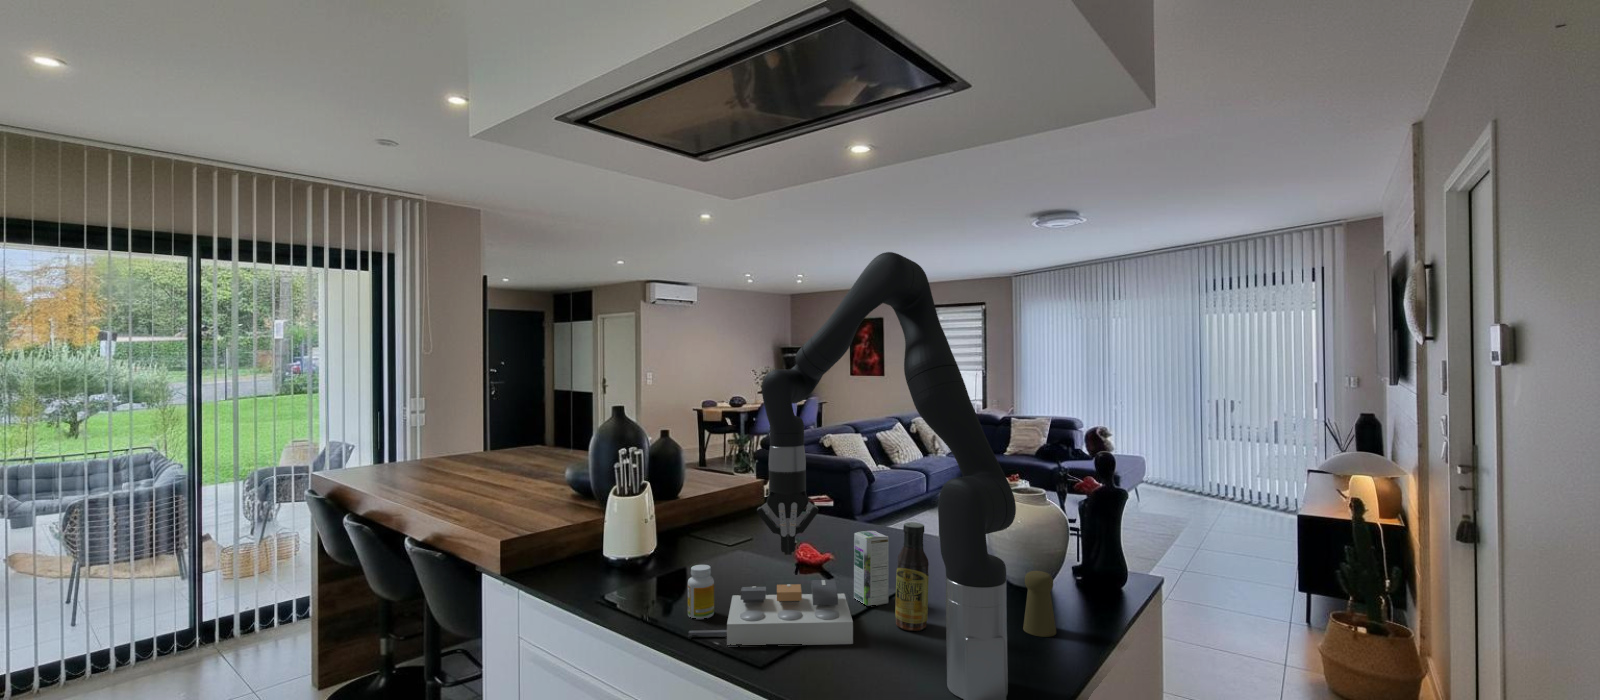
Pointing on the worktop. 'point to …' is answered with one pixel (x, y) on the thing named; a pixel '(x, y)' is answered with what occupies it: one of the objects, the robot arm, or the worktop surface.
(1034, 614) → the yellow pepper mill
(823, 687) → the worktop surface
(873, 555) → the syrup box
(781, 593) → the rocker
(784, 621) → the power strip
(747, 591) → the block
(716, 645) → the worktop surface
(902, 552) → the sauce bottle
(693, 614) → the supplement bottle
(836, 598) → the block
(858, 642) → the worktop surface
